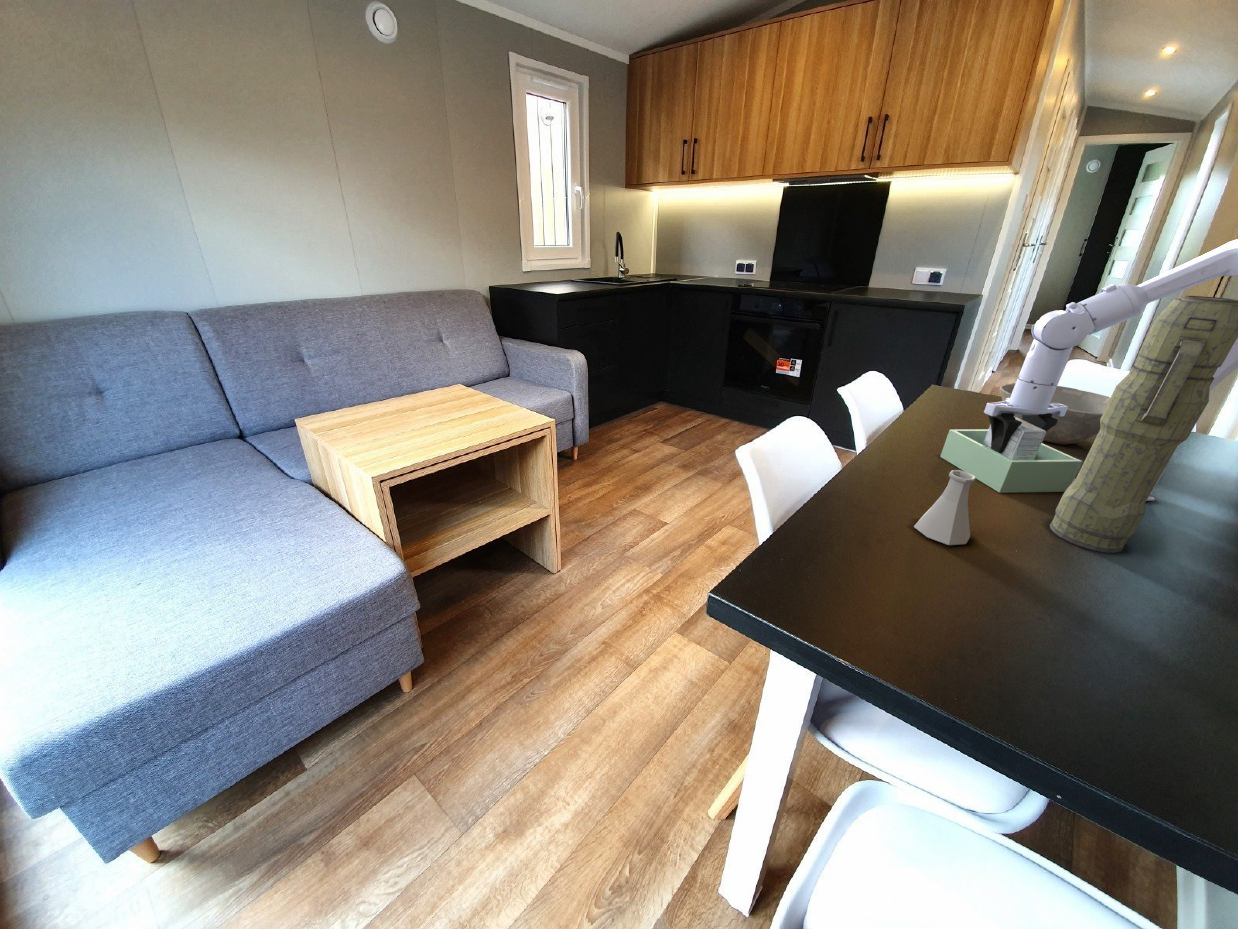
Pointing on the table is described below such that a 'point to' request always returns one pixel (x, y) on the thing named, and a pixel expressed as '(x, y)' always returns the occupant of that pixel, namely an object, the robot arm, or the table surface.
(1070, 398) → the ceramic bowl
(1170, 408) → the thermos
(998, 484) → the mint green tray
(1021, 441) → the medicine box
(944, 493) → the flask
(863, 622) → the table surface
